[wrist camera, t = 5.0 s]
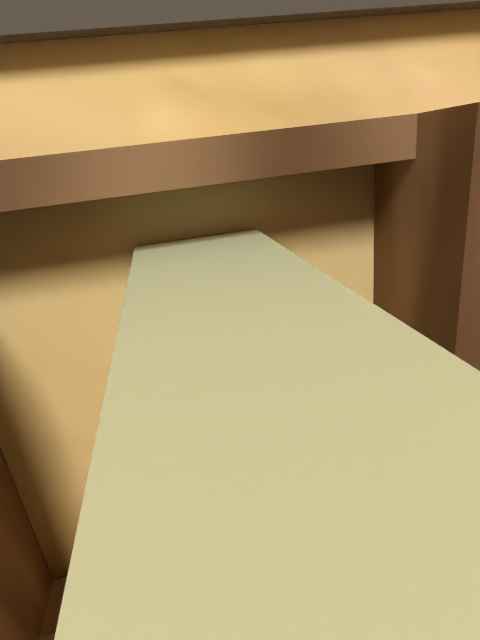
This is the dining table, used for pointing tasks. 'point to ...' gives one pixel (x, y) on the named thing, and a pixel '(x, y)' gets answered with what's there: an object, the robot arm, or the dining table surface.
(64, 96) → the dining table surface
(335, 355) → the beige rectangular block
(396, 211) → the frame
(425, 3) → the rubber mat
